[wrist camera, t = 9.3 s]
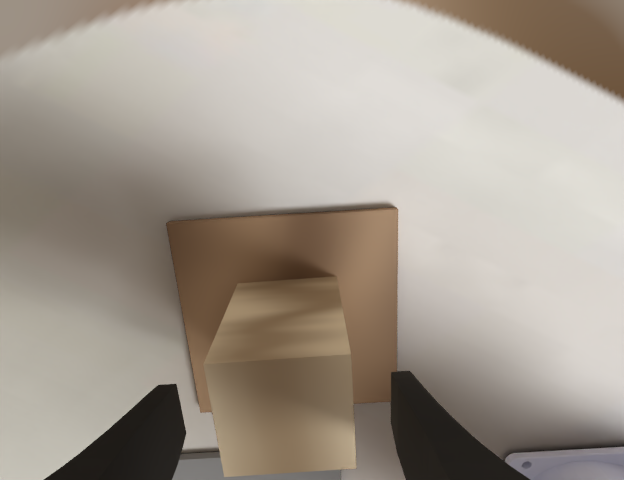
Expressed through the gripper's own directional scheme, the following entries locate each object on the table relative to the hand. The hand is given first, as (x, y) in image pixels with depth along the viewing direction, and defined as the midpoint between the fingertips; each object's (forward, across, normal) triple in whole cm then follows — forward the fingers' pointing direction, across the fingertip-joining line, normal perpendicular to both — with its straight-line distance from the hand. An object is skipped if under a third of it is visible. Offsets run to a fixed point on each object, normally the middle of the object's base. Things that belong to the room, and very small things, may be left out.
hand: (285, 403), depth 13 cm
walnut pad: (+6, 0, 0) cm, 6 cm away
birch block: (+6, 0, 0) cm, 6 cm away
